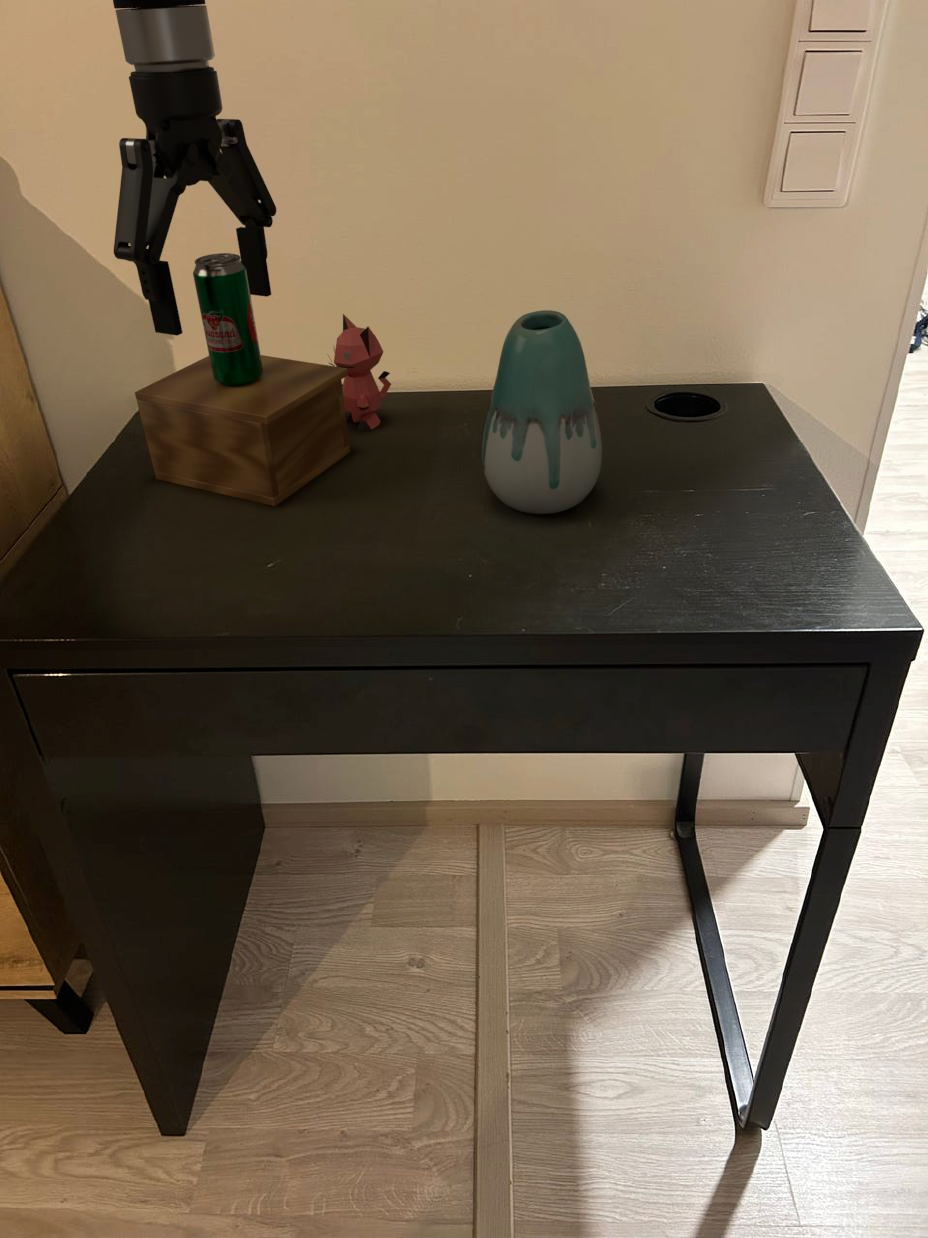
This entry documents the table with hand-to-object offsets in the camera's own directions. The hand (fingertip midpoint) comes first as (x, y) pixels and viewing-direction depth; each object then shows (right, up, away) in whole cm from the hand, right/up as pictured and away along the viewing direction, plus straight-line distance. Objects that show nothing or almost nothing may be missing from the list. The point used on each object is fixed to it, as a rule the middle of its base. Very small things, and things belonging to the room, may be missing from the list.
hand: (216, 313), depth 95 cm
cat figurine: (+13, -7, +18) cm, 23 cm away
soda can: (+1, -6, +4) cm, 7 cm away
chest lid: (+2, -6, +4) cm, 8 cm away
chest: (+2, -14, +9) cm, 17 cm away
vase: (+32, -19, 0) cm, 37 cm away
